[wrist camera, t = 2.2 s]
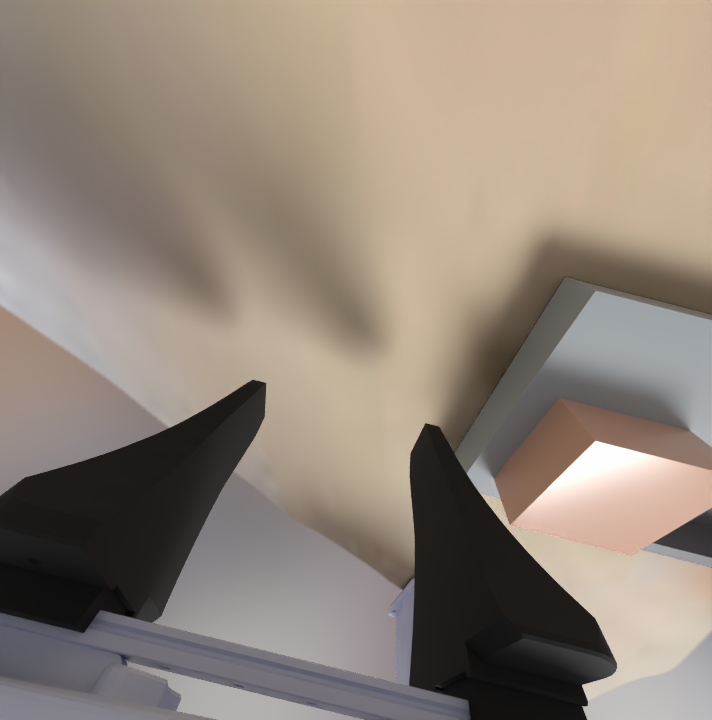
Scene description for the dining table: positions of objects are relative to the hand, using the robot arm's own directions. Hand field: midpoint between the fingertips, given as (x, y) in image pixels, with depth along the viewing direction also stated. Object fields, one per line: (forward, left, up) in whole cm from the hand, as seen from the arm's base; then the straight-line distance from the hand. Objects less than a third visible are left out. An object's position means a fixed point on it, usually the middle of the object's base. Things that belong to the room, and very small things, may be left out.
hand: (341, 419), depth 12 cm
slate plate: (+1, -13, -4) cm, 13 cm away
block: (0, -12, -2) cm, 12 cm away
